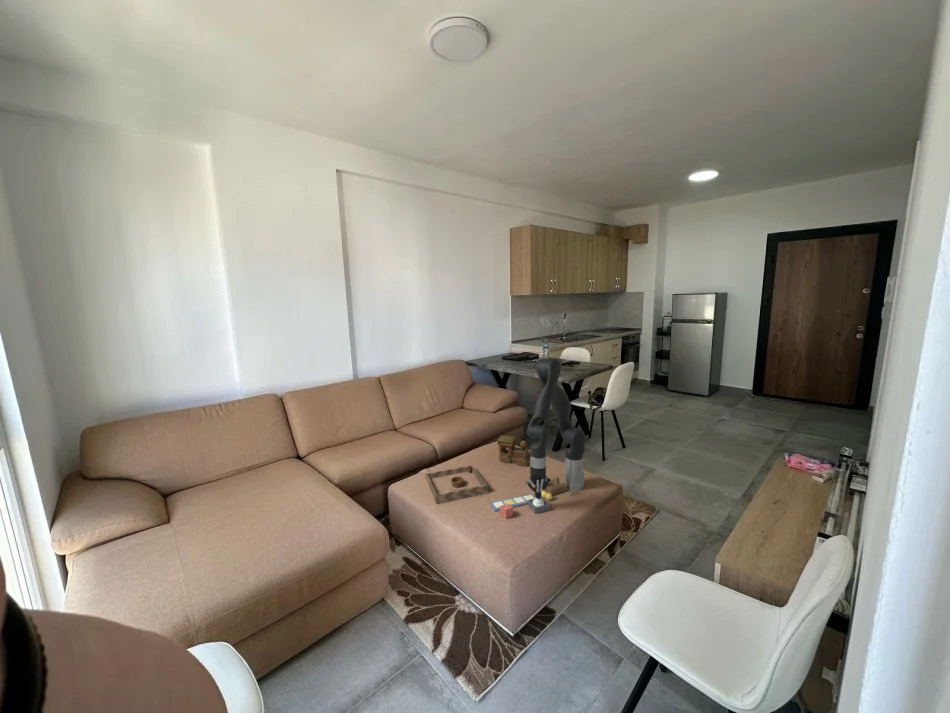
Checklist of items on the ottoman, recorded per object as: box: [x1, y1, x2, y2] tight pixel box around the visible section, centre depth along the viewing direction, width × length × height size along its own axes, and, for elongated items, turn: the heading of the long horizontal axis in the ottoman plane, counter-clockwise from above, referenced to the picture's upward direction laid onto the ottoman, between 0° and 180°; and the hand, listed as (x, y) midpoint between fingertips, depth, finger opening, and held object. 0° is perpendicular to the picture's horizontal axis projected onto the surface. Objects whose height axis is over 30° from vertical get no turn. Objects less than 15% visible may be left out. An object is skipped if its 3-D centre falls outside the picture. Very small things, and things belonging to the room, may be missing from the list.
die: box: [499, 504, 514, 520], centre depth 180 cm, size 4×4×4 cm
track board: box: [489, 492, 536, 512], centre depth 190 cm, size 24×8×1 cm, turn 109°
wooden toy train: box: [496, 434, 531, 468], centre depth 233 cm, size 20×11×17 cm, turn 66°
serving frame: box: [424, 465, 489, 505], centre depth 207 cm, size 28×26×5 cm
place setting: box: [448, 465, 472, 491], centre depth 210 cm, size 18×20×6 cm
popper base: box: [527, 496, 551, 514], centre depth 185 cm, size 8×8×3 cm
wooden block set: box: [544, 476, 568, 496], centre depth 201 cm, size 18×9×10 cm
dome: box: [533, 498, 544, 507], centre depth 185 cm, size 6×6×5 cm
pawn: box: [541, 490, 553, 501], centre depth 193 cm, size 4×4×7 cm
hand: (538, 498), depth 185 cm, fingers closed
